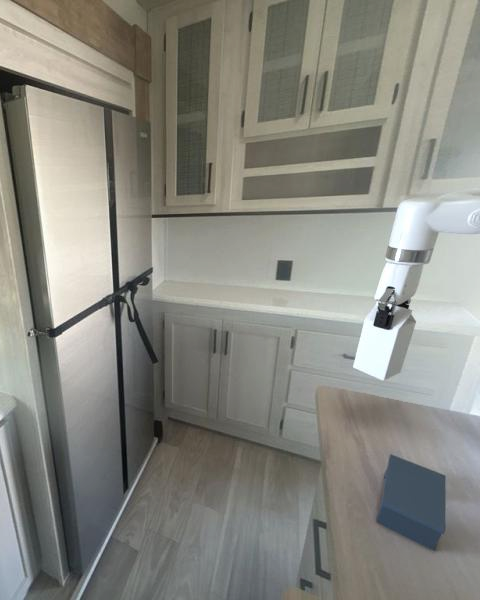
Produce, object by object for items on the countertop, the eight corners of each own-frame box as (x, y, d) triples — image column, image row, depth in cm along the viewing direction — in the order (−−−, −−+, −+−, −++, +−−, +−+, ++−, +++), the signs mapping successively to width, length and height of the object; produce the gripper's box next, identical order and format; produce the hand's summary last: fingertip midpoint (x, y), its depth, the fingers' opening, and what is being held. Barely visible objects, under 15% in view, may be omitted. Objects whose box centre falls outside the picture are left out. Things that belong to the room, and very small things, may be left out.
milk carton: (383, 381, 83) (403, 313, 76) (352, 367, 89) (368, 304, 82) (400, 373, 86) (421, 306, 78) (369, 360, 92) (385, 297, 85)
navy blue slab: (383, 472, 77) (390, 453, 75) (436, 495, 71) (445, 475, 69) (374, 521, 67) (382, 500, 65) (435, 551, 62) (445, 530, 59)
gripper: (403, 244, 82) (386, 308, 89) (370, 259, 75) (354, 328, 81) (445, 249, 76) (423, 317, 83) (414, 266, 69) (392, 339, 75)
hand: (389, 322), depth 82 cm, fingers closed on milk carton, 7 cm apart
